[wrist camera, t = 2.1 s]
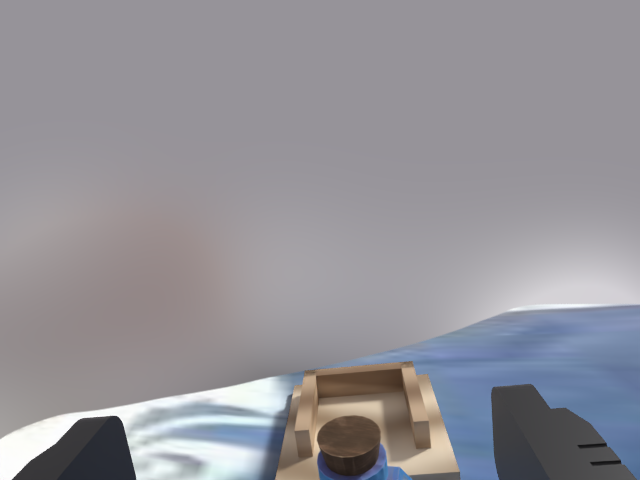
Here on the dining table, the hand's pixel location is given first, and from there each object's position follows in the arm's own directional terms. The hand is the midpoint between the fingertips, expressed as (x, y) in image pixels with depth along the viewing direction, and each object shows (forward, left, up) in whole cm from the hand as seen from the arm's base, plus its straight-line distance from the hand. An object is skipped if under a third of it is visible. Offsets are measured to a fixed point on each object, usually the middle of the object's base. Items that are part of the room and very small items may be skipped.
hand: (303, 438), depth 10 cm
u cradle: (-20, -20, -20) cm, 35 cm away
